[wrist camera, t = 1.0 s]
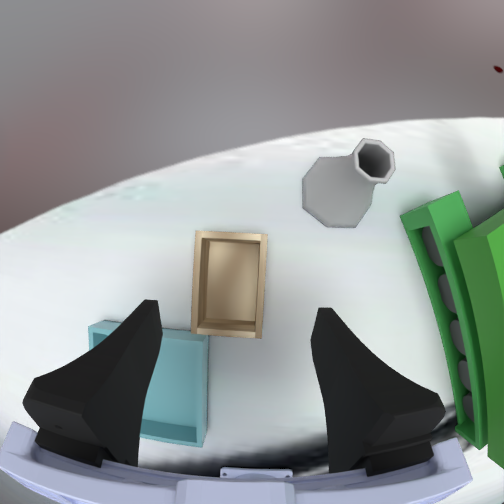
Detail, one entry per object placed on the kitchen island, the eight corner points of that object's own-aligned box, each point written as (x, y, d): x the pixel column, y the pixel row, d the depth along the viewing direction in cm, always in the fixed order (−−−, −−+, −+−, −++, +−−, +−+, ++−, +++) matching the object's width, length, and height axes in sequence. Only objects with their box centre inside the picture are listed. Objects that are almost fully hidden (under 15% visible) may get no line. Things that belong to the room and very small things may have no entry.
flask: (290, 213, 28) (310, 188, 18) (312, 147, 28) (338, 97, 18) (359, 240, 28) (409, 229, 18) (377, 173, 28) (426, 138, 18)
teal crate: (207, 430, 27) (202, 447, 24) (111, 413, 27) (98, 426, 24) (208, 332, 28) (202, 341, 24) (104, 320, 28) (88, 326, 24)
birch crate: (264, 239, 28) (267, 234, 23) (259, 325, 28) (261, 338, 23) (205, 236, 28) (195, 230, 23) (201, 321, 28) (190, 333, 23)
